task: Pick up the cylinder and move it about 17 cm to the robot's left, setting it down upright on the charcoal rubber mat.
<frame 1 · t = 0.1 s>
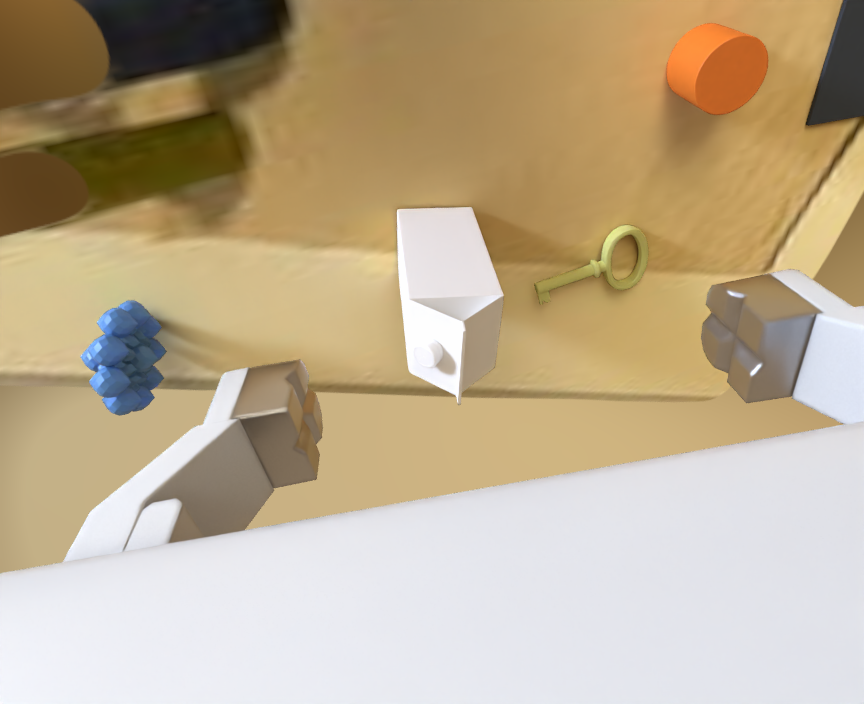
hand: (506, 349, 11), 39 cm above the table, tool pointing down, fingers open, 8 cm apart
key: (591, 263, 56), on the table
cylinder: (699, 61, 44), on the table
milk carton: (433, 239, 53), on the table
grapes: (140, 318, 55), on the table
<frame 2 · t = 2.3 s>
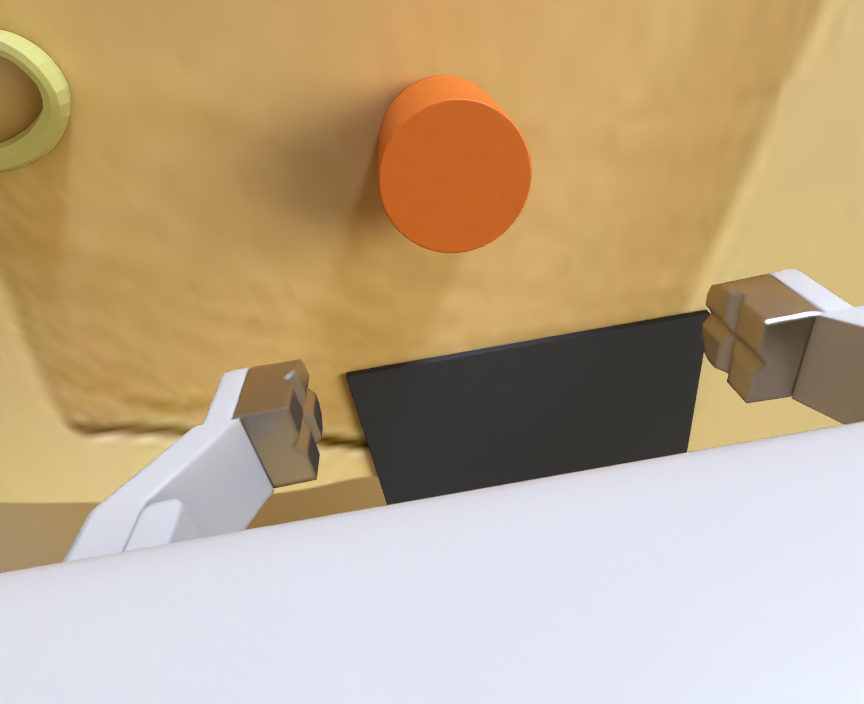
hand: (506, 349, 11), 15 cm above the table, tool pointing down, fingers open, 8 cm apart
cylinder: (442, 146, 23), on the table
mat: (530, 421, 33), on the table
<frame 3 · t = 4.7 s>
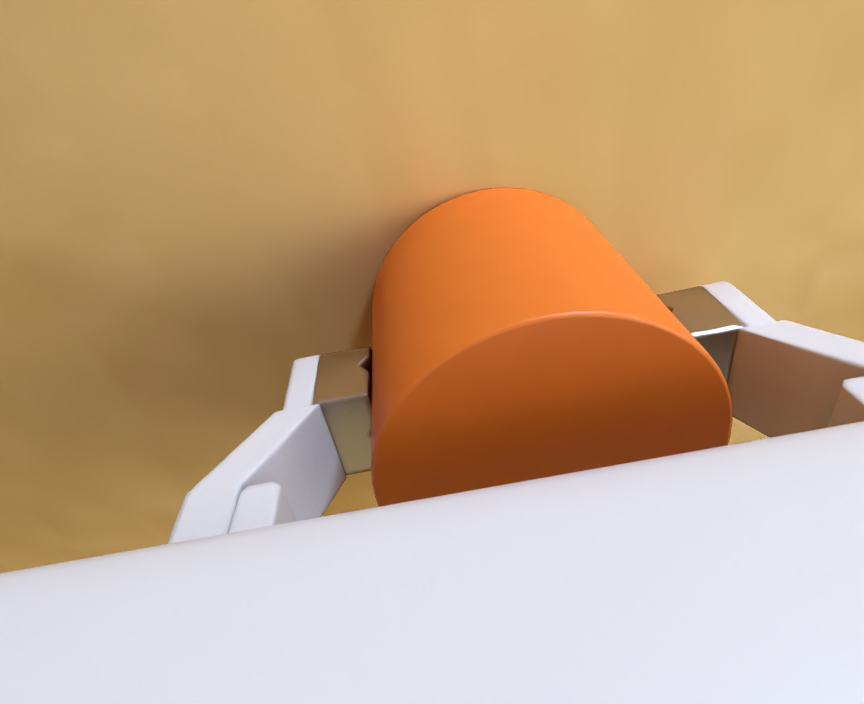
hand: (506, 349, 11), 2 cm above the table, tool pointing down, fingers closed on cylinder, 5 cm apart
cylinder: (493, 306, 12), on the table, touching gripper
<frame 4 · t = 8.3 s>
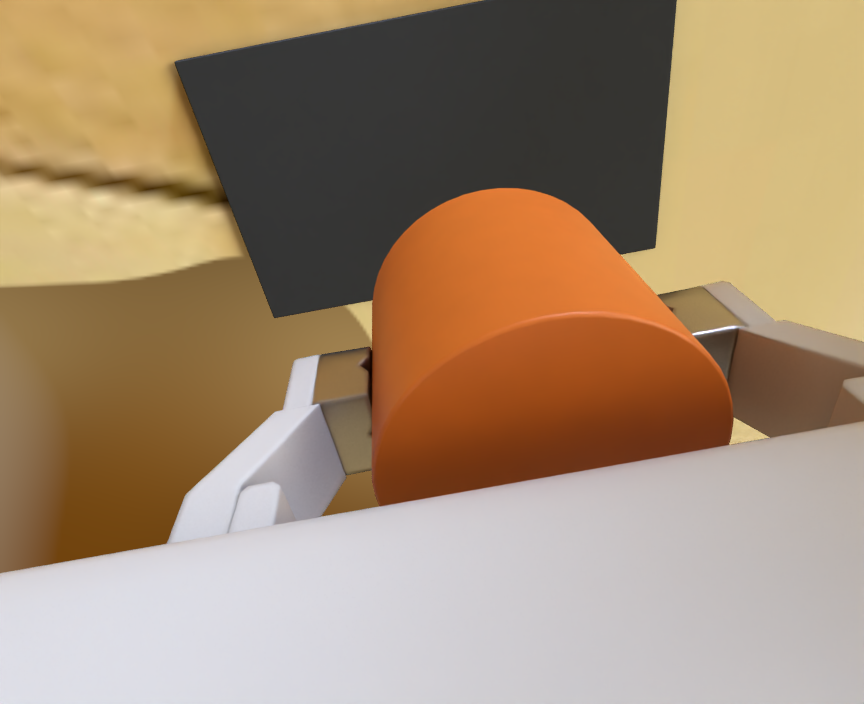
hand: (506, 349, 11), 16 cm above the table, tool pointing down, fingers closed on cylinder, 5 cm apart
cylinder: (493, 306, 12), point 14 cm above the table, touching gripper
mat: (445, 164, 25), on the table
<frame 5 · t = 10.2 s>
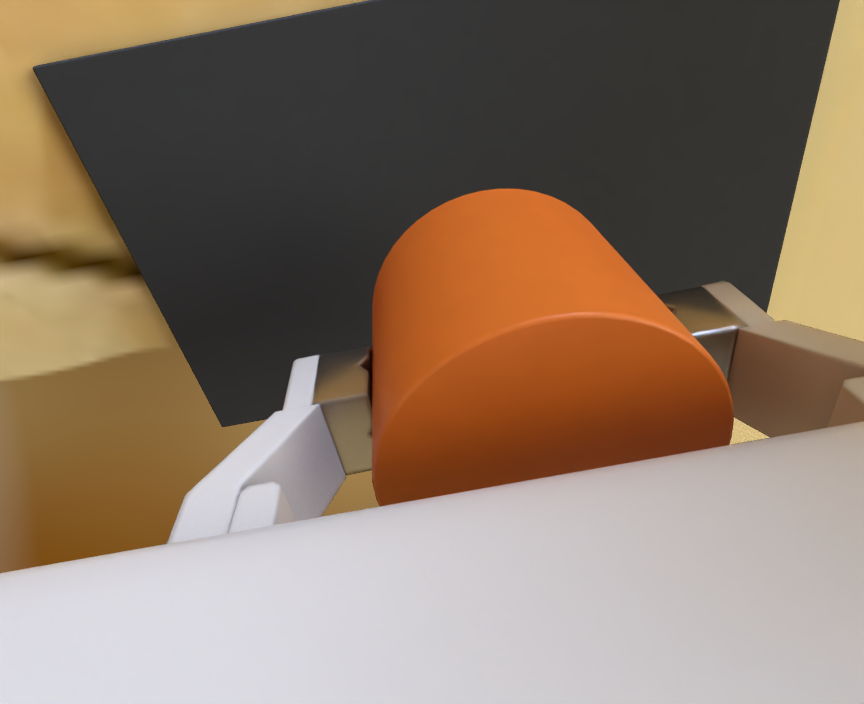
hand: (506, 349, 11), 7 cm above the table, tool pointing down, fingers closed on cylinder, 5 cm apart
cylinder: (493, 307, 12), point 5 cm above the table, touching gripper
mat: (468, 220, 16), on the table
when the fingers open (2 cm above the table, at t = 11.9 s): cylinder stays where it is, resting on mat.
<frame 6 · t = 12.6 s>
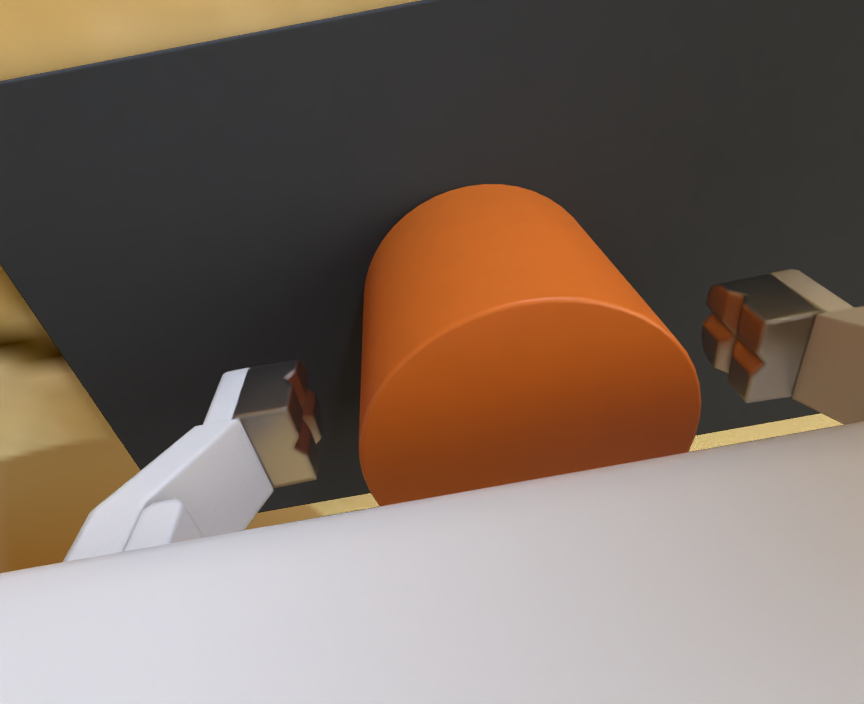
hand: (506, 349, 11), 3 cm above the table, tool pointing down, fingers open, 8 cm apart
cylinder: (480, 299, 13), resting on mat
mat: (481, 288, 13), on the table
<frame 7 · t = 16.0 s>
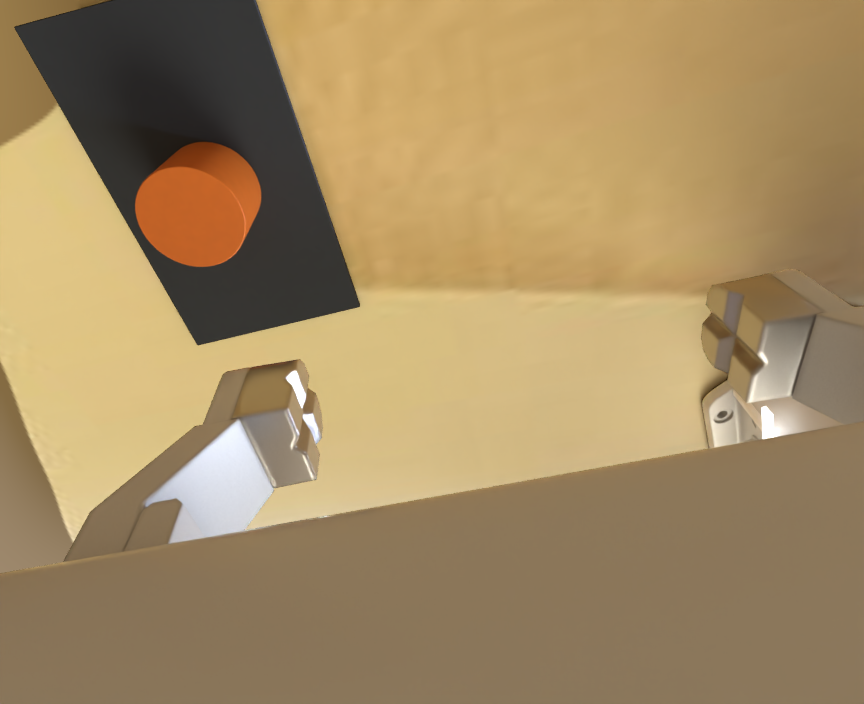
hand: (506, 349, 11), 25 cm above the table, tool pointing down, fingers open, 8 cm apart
cylinder: (214, 189, 32), resting on mat
mat: (217, 188, 33), on the table
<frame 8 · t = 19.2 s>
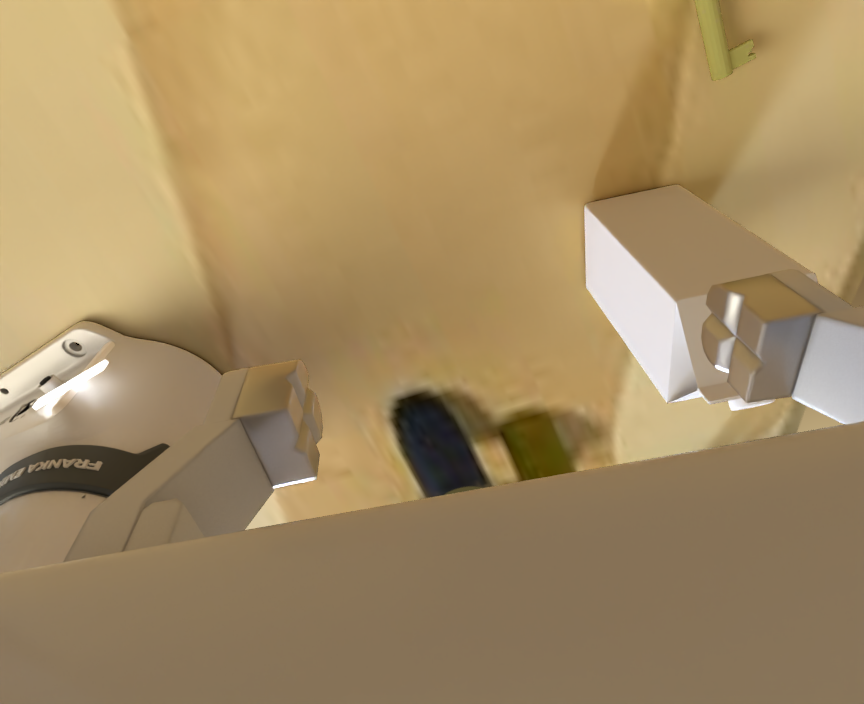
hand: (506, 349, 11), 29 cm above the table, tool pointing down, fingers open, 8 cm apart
milk carton: (628, 236, 42), on the table
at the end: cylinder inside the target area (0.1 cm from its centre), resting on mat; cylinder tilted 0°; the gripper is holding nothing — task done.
